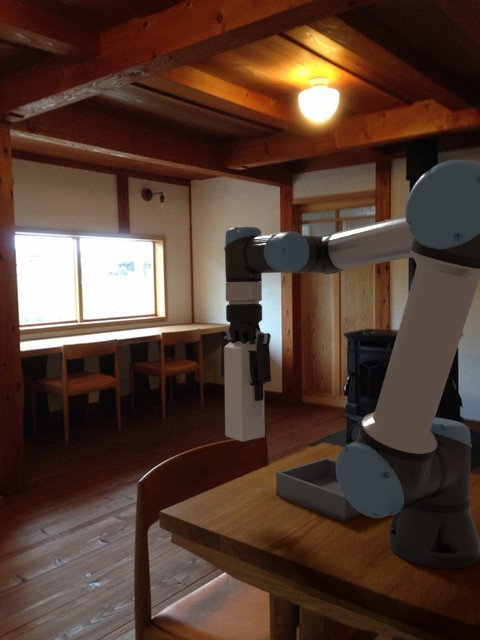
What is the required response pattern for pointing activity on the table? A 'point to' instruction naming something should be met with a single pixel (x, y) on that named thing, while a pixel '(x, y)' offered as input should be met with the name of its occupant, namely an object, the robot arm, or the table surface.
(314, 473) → the bin
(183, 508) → the table surface
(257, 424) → the milk
